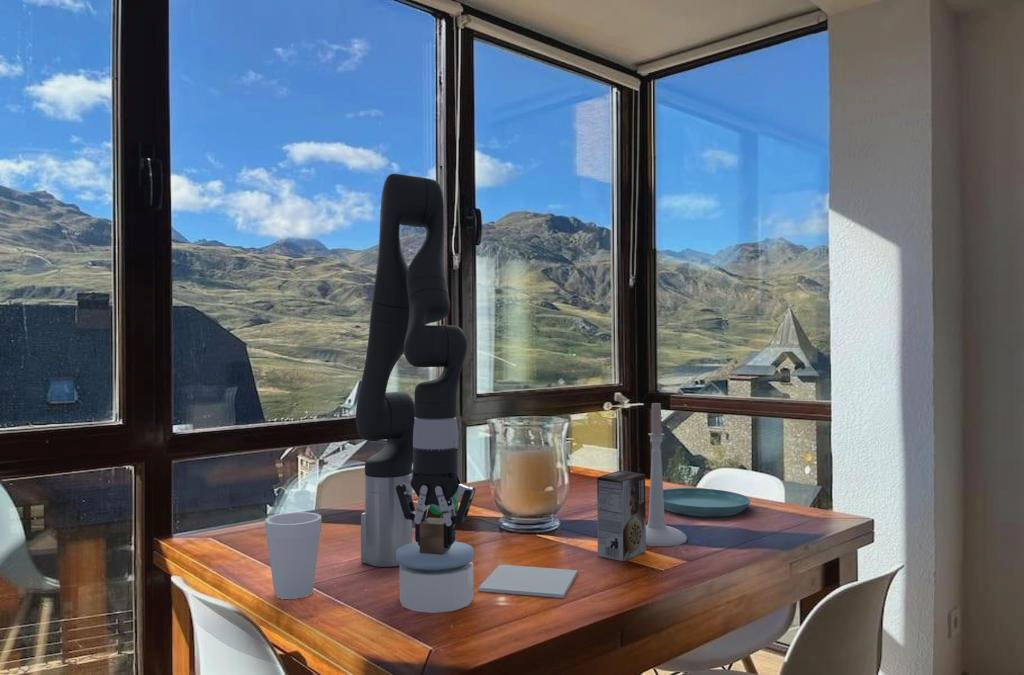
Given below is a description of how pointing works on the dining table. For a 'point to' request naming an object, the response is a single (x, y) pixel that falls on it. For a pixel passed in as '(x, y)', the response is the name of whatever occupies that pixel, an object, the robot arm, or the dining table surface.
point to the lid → (434, 549)
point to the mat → (529, 581)
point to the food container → (435, 510)
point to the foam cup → (293, 552)
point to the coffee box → (621, 515)
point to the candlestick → (659, 493)
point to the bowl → (436, 588)
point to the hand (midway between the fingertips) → (435, 545)
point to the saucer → (704, 502)
